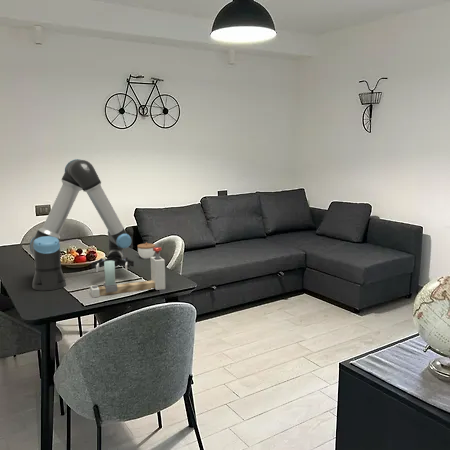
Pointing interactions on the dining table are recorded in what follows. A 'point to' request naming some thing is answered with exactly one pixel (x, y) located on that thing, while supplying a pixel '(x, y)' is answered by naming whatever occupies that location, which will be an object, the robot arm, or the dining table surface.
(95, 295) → the block
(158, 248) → the gauge plunger
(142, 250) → the lidded jar
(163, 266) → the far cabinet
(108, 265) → the carriage
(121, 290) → the rail
